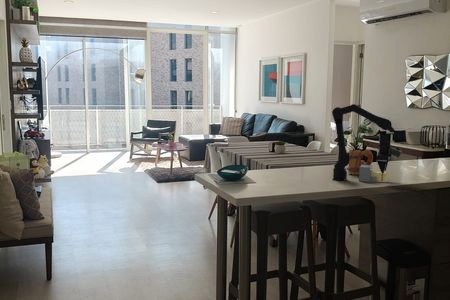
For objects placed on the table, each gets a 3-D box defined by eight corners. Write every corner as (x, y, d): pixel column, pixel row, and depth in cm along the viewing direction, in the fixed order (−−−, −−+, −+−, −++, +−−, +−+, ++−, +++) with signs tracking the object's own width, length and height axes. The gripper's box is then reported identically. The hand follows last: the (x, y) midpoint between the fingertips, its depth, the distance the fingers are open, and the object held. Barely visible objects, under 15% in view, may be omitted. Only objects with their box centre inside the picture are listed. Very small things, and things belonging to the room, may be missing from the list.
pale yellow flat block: (364, 180, 239) (364, 171, 238) (365, 180, 241) (365, 171, 241) (386, 182, 234) (386, 173, 234) (386, 181, 236) (387, 172, 236)
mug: (344, 174, 258) (345, 149, 256) (348, 172, 265) (348, 147, 263) (370, 176, 251) (371, 150, 249) (373, 174, 258) (374, 148, 256)
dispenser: (359, 181, 238) (359, 166, 237) (361, 178, 245) (362, 164, 244) (375, 182, 234) (376, 167, 233) (377, 179, 241) (378, 165, 240)
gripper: (399, 145, 222) (398, 175, 223) (402, 141, 238) (401, 170, 240) (376, 144, 227) (375, 174, 228) (380, 141, 243) (379, 169, 245)
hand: (383, 171), depth 235 cm, fingers open, 9 cm apart
